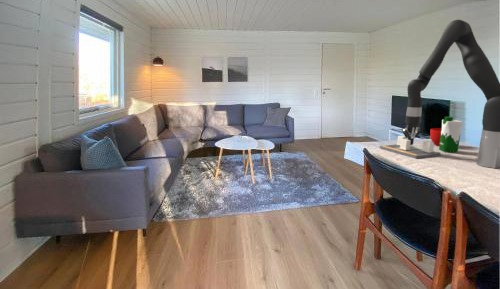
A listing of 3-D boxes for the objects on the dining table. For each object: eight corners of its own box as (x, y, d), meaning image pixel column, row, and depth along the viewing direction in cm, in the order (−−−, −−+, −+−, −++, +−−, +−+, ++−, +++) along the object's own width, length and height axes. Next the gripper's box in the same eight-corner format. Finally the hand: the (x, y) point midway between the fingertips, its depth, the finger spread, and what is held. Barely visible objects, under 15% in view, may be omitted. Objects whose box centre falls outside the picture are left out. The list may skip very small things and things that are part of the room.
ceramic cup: (464, 147, 179) (466, 131, 177) (434, 147, 181) (436, 131, 179) (452, 143, 191) (454, 128, 189) (425, 142, 193) (426, 128, 191)
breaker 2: (433, 152, 161) (434, 142, 160) (428, 152, 160) (429, 142, 159) (426, 150, 165) (427, 140, 164) (421, 151, 164) (422, 141, 163)
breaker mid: (410, 149, 167) (411, 140, 166) (405, 150, 166) (406, 140, 165) (404, 148, 171) (405, 138, 170) (399, 148, 170) (400, 139, 169)
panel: (440, 155, 161) (440, 152, 161) (415, 158, 155) (416, 155, 155) (402, 145, 185) (402, 143, 185) (379, 148, 179) (379, 145, 179)
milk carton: (436, 149, 176) (441, 116, 172) (453, 149, 174) (458, 116, 170) (442, 152, 168) (447, 117, 164) (460, 153, 166) (465, 118, 162)
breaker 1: (406, 145, 178) (407, 136, 177) (402, 146, 177) (403, 137, 176) (400, 144, 182) (401, 135, 181) (396, 144, 181) (397, 135, 180)
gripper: (410, 116, 160) (406, 147, 164) (428, 115, 165) (424, 145, 168) (399, 115, 167) (396, 144, 171) (416, 113, 172) (413, 142, 175)
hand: (410, 144), depth 170 cm, fingers closed
